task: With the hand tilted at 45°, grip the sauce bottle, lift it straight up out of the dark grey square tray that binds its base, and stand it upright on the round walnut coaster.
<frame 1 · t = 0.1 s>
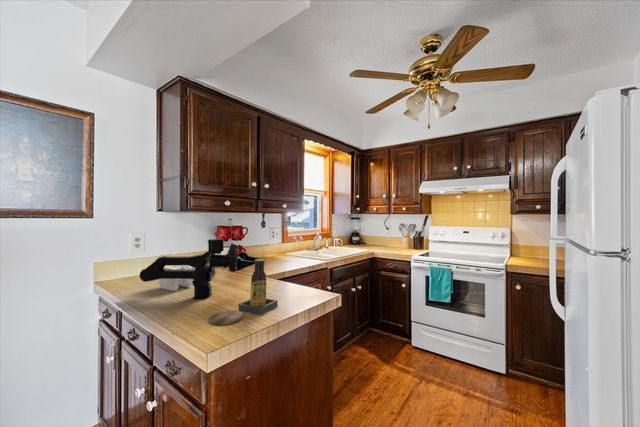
hand: (256, 261, 128), 17 cm above the counter, tool horizontal, fingers open, 9 cm apart
dark grey square tray: (258, 308, 113), on the counter
sauce bottle: (258, 308, 113), resting in dark grey square tray
coaster: (226, 318, 102), on the counter
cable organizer: (175, 288, 143), on the counter
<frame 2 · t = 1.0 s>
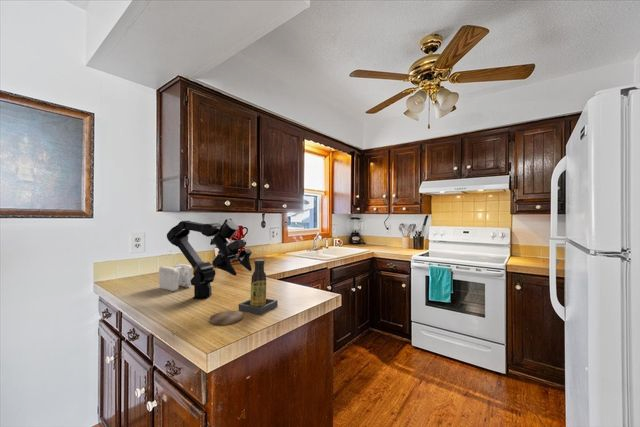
hand: (243, 272, 117), 14 cm above the counter, tool tilted 45°, fingers open, 9 cm apart
nothing on the counter moved.
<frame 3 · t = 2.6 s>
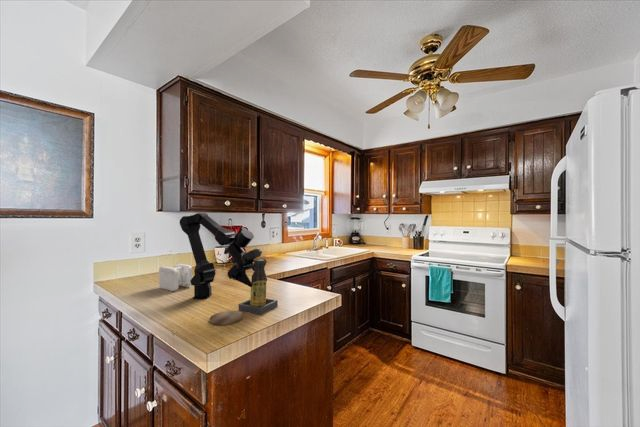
hand: (259, 283, 113), 10 cm above the counter, tool tilted 45°, fingers open, 9 cm apart
nothing on the counter moved.
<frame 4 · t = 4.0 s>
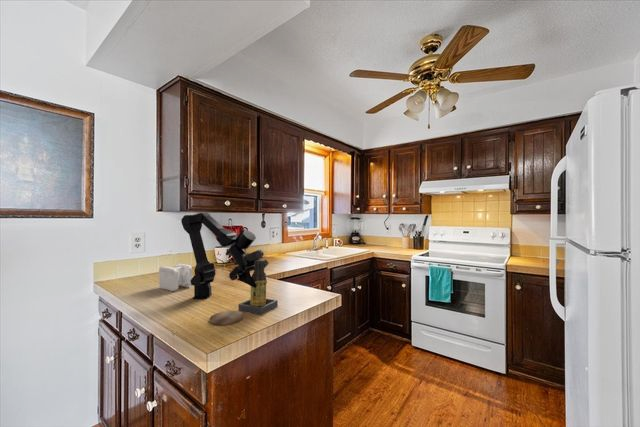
hand: (261, 285, 112), 10 cm above the counter, tool tilted 45°, fingers closed on sauce bottle, 6 cm apart
sauce bottle: (258, 308, 113), resting in dark grey square tray, touching gripper
everything else where it was.
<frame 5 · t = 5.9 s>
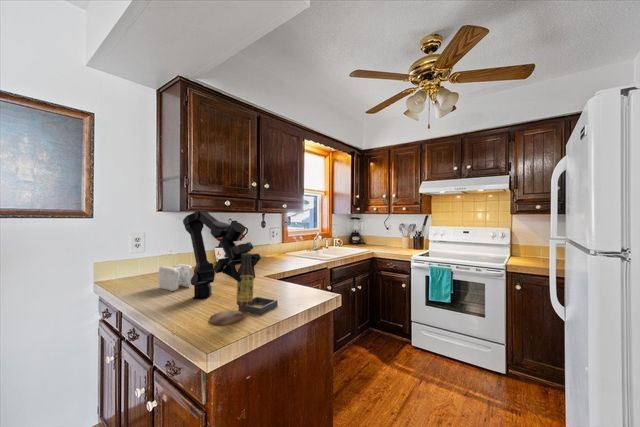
hand: (247, 279, 106), 13 cm above the counter, tool tilted 45°, fingers closed on sauce bottle, 6 cm apart
sauce bottle: (245, 304, 107), point 3 cm above the counter, touching gripper
everything else where it was.
when the fingers open (12 cm above the counter, at t = 7.8 s): sauce bottle drops 1 cm, resting on coaster.
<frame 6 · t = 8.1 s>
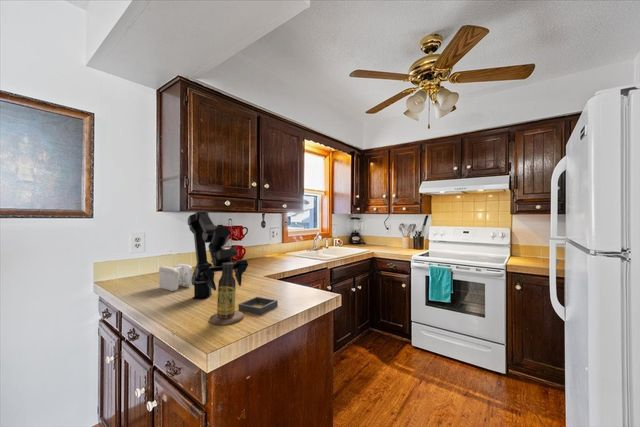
hand: (228, 287, 101), 12 cm above the counter, tool tilted 45°, fingers open, 9 cm apart
sauce bottle: (226, 317, 102), point 1 cm above the counter, touching coaster
everything else where it was.
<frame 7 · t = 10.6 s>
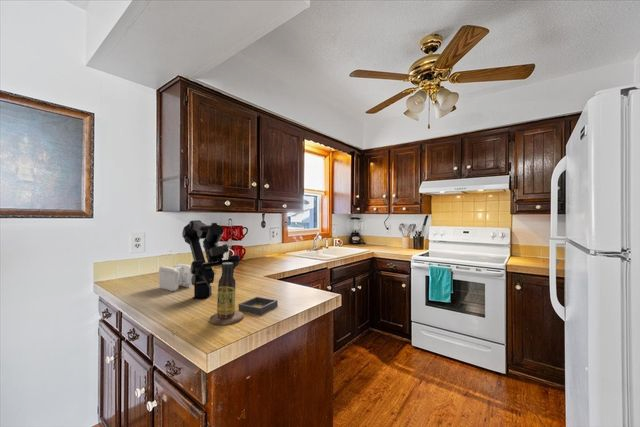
hand: (220, 281, 109), 12 cm above the counter, tool tilted 40°, fingers open, 9 cm apart
nothing on the counter moved.
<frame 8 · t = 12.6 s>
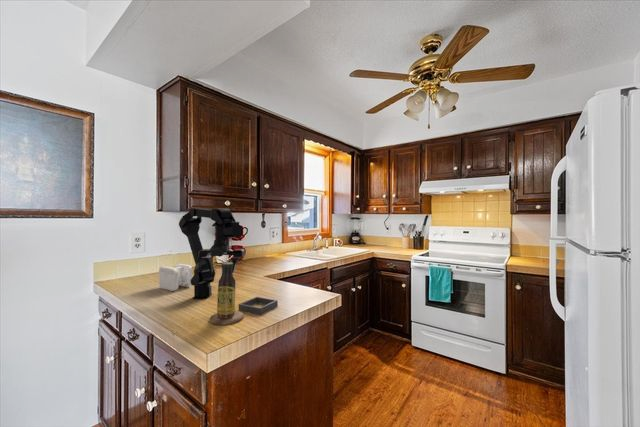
hand: (222, 272, 120), 13 cm above the counter, tool pointing down, fingers open, 9 cm apart
nothing on the counter moved.
at the end: sauce bottle 0.2 cm off-centre on the coaster, point 0.6 cm above the coaster's base; sauce bottle tilted 0°; the gripper is holding nothing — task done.
